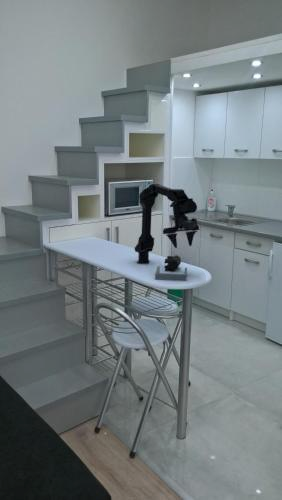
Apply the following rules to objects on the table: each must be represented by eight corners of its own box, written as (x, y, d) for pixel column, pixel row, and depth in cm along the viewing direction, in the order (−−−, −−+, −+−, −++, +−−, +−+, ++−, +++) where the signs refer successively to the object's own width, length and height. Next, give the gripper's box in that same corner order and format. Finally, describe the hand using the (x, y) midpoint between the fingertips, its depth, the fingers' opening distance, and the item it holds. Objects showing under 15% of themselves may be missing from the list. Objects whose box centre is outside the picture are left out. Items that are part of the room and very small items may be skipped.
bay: (157, 271, 220) (157, 266, 220) (186, 273, 219) (186, 267, 218) (155, 279, 207) (155, 273, 207) (186, 280, 206) (186, 274, 205)
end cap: (177, 272, 220) (178, 259, 219) (164, 271, 222) (164, 258, 220) (180, 267, 230) (181, 255, 228) (167, 266, 231) (168, 254, 230)
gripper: (174, 214, 197) (179, 248, 197) (204, 211, 207) (208, 243, 207) (160, 217, 206) (164, 249, 206) (189, 214, 216) (193, 245, 217)
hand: (183, 246), depth 209 cm, fingers open, 9 cm apart
